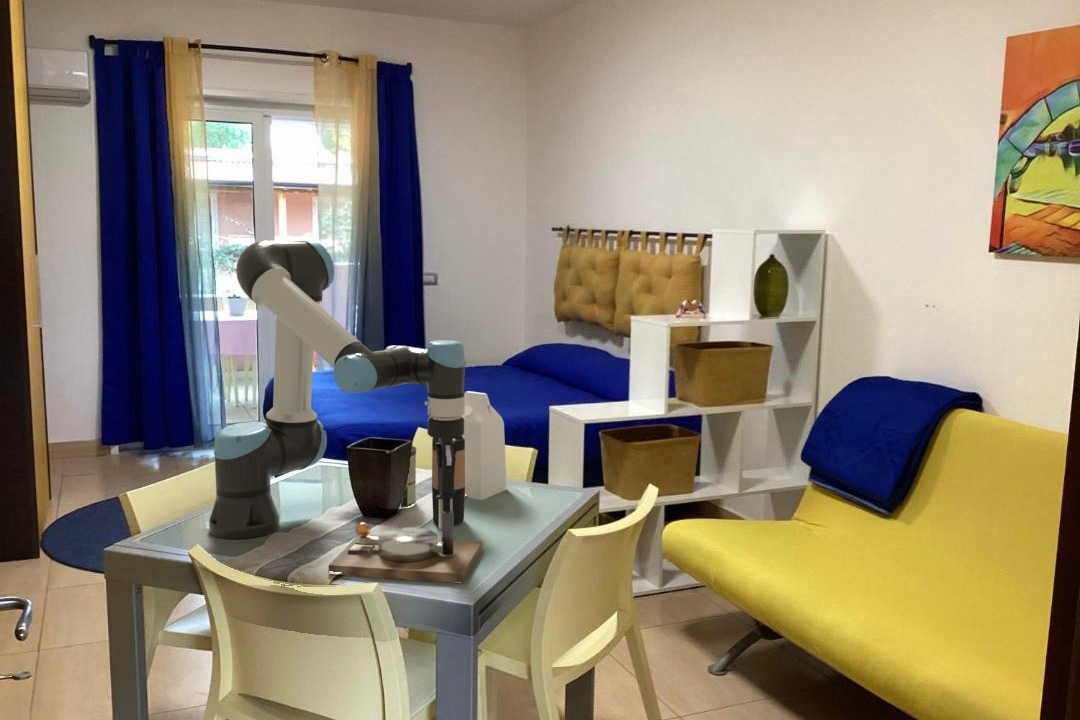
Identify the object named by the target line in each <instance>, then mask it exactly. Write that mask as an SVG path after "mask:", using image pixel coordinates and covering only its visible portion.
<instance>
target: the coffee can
mask: <svg viewBox="0 0 1080 720" xmlns="http://www.w3.org/2000/svg"><path fill="white" fill-rule="evenodd" d="M411 446H412V449H411V458H410V468H409V474H408V480H407V485H406V489H405V492H404V496H403V499H402V501H401V508H403V507H408V506H411V505H412V504H414V503H415V502H416V501H417V500H416V498H417V497H416V495H417V494H416V493H417V492H416V489H417V487H416V484H417V483H416V481H417V480H416V479H417V478H416V476H417V470H416V468H417V467H416V464H417V462H416V459H417V456H416V455H417V454H416V453H417V448H416V447H415V446H413V445H411ZM416 503H417V502H416Z"/></svg>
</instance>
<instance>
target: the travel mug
mask: <svg viewBox="0 0 1080 720" xmlns="http://www.w3.org/2000/svg"><path fill="white" fill-rule="evenodd" d="M431 438H432V439H431V440H432V441H431V444H432V447H431V448H432V449H431V454H432V455H431V498H432V522H433V524H434V523H435V525H436V526H439V499H437V495H439V494H438V491H439V490H438V463H437V451H436V449H435V444H436V443H439V438H434V437H431ZM453 442H455V445H456V454H455V458H456V460H455V471H454V492H455V495H454V498H453V512H454V527H455V526H460V525H462V524H463V523H464V520H465V518H464V517H465V501H466V500H465V499H466V497H465V439H463V437H462V436H461V437H458V438H457V437H455V438H454V439H453Z"/></svg>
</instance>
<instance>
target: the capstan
mask: <svg viewBox="0 0 1080 720" xmlns="http://www.w3.org/2000/svg"><path fill="white" fill-rule="evenodd" d="M454 527H455V526H454V512H453V511H443V512H442V529H441V539H442V542H438V538H439V535H438V534H437V532H435V531H434V530H431V529H428V528H427V529H426V528H423V527H399V528H394V529H389V530H387V531H384V532H382V533H381V534H379V535H380V536H379V537H375V536H367V535H369V534H371V526H370V524H368V523H367V522H364V521H363V522H359V523H358V524H357V525H356V527H355V533H356V535H357V536H360V538H359V543H362V544H371V545H379V555H380V556H381V557H383V558H385V559H388V560H392V561H400V562H411V561H420V560H424V559H428V558H430V557H432V556H434V555H435V554H436V553H442V554H443V555H451V554H453V553H454Z"/></svg>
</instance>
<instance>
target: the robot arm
mask: <svg viewBox="0 0 1080 720" xmlns="http://www.w3.org/2000/svg"><path fill="white" fill-rule="evenodd" d="M235 273H236V278H237V281H238V284H239V286H240V288H241V290H242V291H243V292H244V294H245V295H246V296H247V297H248V299H250V301H253V302H254V304H256V305H257V306H258V307H259V306H260V307H267V309H268V310H269V311H270V312H272V313H273V314H274V315H275V340H274V341H275V342H274V343H275V344H274V345H275V346H274V366H273V367H274V371H273V372H274V373H273V399H272V401H273V403H272V405H273V406H272V407H271V408H270V409H269V411H267V412H266V415H265V422H263V421H246V422H238V423H234V424H231V425H228V426H226V427H223V428H222V429H221V430H219V431H218V432H217V434H216V435H215V437H214V448H213V454H214V462H215V463H214V466H215V467H214V470H215V493H216V495H215V500H214V504H213V507H212V510H211V515H210V517H209V521H208V531H209V533H210V534H211V535H212V536H214V537H217V538H222V539H233V540H234V539H237V540H240V539H249V538H257V537H261V536H265V535H269V534H272V533H273V532H275V531H277V530H278V529H279V528H280V515H279V512H278V510H277V507H276V504H275V502H274V499H273V496H272V494H271V478H272V477H276V476H279V475H282V474H288V473H291V472H296V471H302V470H304V469H306V468H309V467H311V466H314V465H315V464H317V463H318V462H319V461H320V460H321V459H322V458H323V456H324V454H325V452H326V448H327V441H328V439H327V432H326V430H324V428H325V426H324V425H323V423H322V422H321V421H320V420H319V419H318V414H317V412H315V410H314V409H312V393H313V392H312V391H313V368H314V367H313V365H314V352H316V354H318V356H320V358H322V359H323V360H324V361H325V362H326V363H327V364H328V365H330V367H332V369H333V379H334V381H335V383H336V385H337V387H338V389H339V390H341V391H342V392H344V393H346V394H357V393H358V394H363V393H367V392H371V391H377V390H380V389H384V388H385V389H386V388H390V387H391V388H392V387H396V386H402V385H405V384H415V385H420V386H421V385H422V386H427V399H428V400H425V401H424V405H425V406H427V415H428V418H427V422H426V423H427V428H426V429H427V430H426V431H427V435H428V436H429V437H431V438H433V437H434V438H439V443H436V444H435V449H436V451H437V463H438V490H439V491H438V494H439V495H437V499H439V525H438V528H439V530H442V512H443V511H453V498H454V495H455V492H454V471H455V460H456V458H455V454H456V445H455V442H453V439H454V438H455V437H457V438H458V437H461V436H462V435H463V434H464V418H463V417H462V416H463V415H464V414H465V395H464V394H465V375H466V374H465V371H466V369H465V368H466V359H465V357H466V356H465V346H464V344H463V343H462V342H460V341H457V340H446V339H440V340H438V339H437V340H432V341H430V342H428V344H427V348H421V347H414V346H407V345H403V344H401V345H389V346H387V347H386V348H385V349H383V350H378V351H377V350H376V351H372V350H370V349H369V348H368V347H367V346H366V345H365V344H363V343H362V342H361V341H360V340H359V339H357V337H356V336H354V335H353V334H352V333H351V332H350V331H348V329H346V328H345V327H344V326H343V325H342V324H341V323H340V322H338V320H337V319H335V318H334V317H333V316H332V315H330V314H329V313H328V311H326V310H325V309H324V308H323V307H322V306H320V304H321V303H322V302H323V291H326V290H327V289H328V288H329V287H330V286H331V284H333V282H334V280H335V279H334V278H335V266H334V261H333V258H332V256H331V254H330V253H329V252H328V250H327V248H326V247H325V246H323V245H322V244H321V243H319V242H317V241H313V240H305V239H289V240H288V239H284V240H283V239H282V240H281V239H279V240H258V241H257V242H253V243H251V244H250V245H249V246H247V247H246V248H245V249H244V250H243V251H242V252H241V254H240V255H239V257H238V259H237V263H236V272H235Z"/></svg>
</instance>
